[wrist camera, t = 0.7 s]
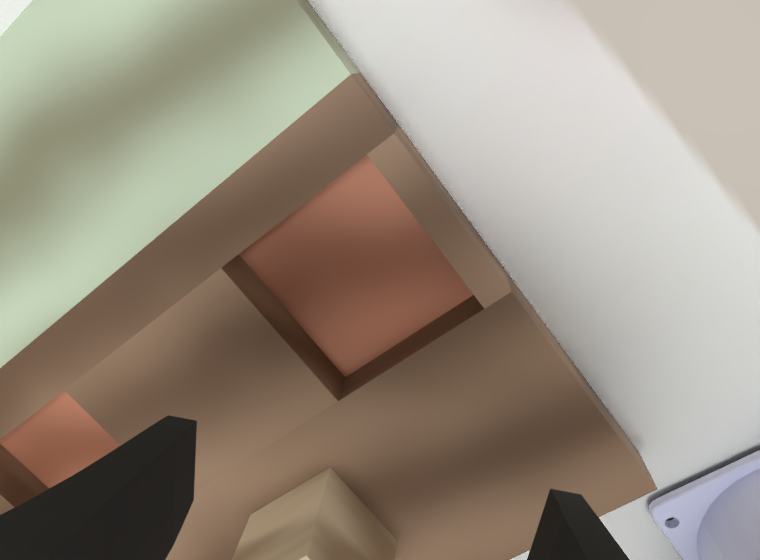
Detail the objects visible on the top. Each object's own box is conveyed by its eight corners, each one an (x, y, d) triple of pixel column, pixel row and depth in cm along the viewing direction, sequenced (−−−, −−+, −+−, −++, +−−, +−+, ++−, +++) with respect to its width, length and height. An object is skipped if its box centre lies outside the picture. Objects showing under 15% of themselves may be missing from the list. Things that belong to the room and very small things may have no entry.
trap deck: (639, 452, 22) (657, 489, 20) (224, 659, 28) (209, 702, 26) (207, -136, 16) (177, -161, 15) (-186, 285, 23) (-242, 306, 21)
